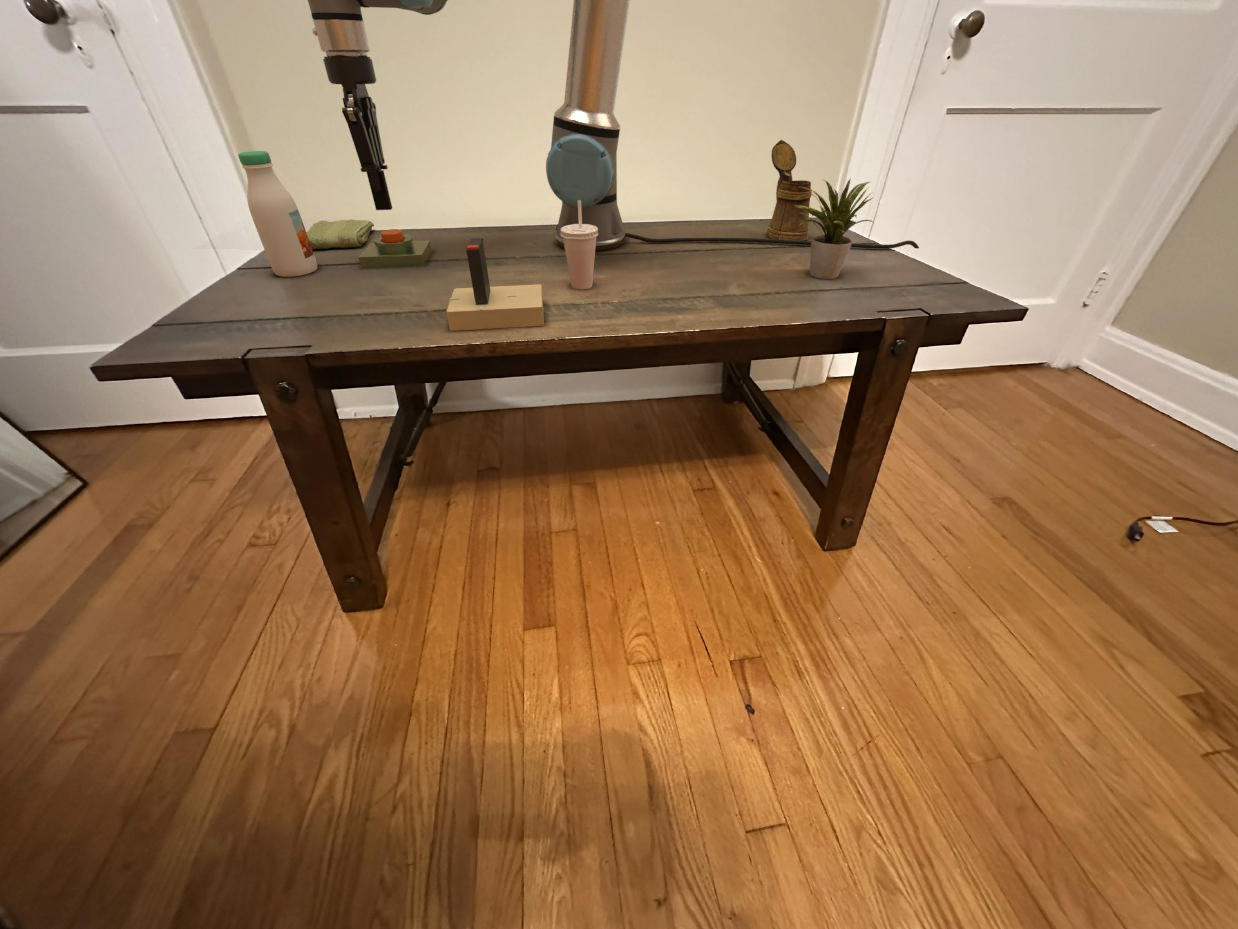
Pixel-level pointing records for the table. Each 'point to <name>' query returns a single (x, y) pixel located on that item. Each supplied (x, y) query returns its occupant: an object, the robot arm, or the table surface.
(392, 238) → the button
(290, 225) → the milk bottle
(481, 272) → the black rectangular block
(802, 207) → the house plant
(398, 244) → the switch block
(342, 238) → the washcloth
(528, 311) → the tan wooden block
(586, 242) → the smoothie
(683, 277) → the table surface
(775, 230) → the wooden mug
